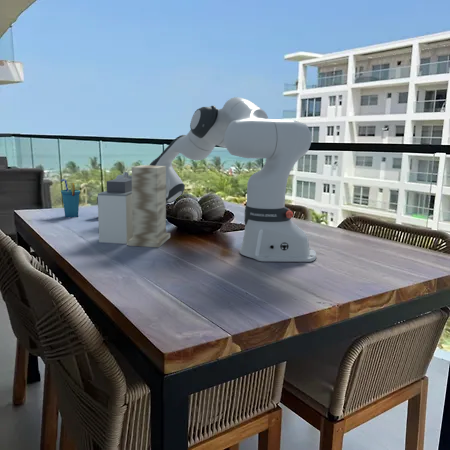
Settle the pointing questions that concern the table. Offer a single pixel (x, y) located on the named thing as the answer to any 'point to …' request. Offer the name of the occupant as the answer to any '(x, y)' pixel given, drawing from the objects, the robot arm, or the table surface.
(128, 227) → the block
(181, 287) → the table surface
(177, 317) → the table surface
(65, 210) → the cup
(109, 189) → the dark grey rectangular block
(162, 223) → the marble stone pillar
